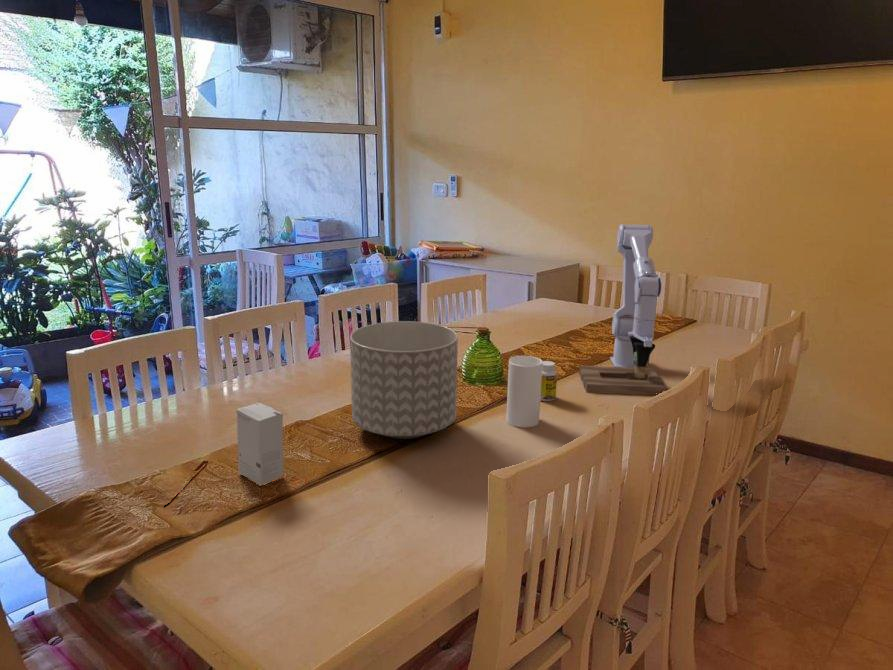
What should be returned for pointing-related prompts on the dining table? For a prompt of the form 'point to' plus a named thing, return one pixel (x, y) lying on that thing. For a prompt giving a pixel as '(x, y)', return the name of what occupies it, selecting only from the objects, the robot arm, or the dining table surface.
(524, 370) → the cup
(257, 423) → the skincare box
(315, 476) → the dining table surface
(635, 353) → the peg
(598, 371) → the keyhole board
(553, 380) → the supplement bottle
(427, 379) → the planter
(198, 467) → the pen
